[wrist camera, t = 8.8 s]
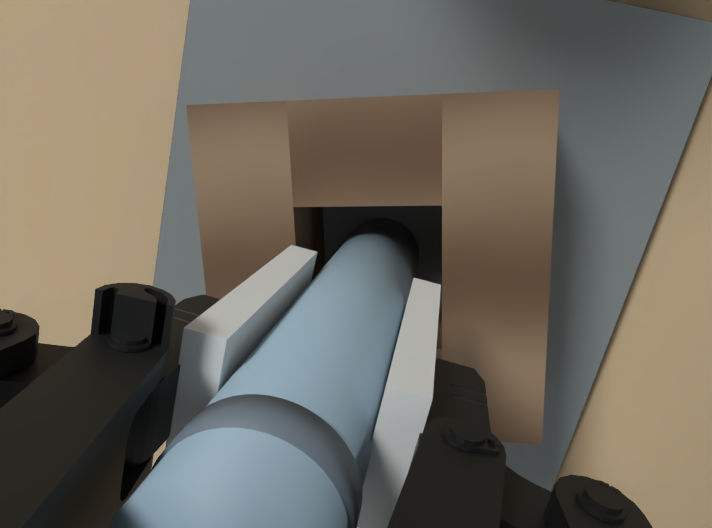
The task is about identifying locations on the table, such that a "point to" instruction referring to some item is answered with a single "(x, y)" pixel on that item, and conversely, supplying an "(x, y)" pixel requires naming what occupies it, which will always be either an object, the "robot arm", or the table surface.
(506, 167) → the wooden block with hole
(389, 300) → the round-tipped blue rod
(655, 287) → the table surface
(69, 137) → the table surface
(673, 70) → the mat
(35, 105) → the table surface
